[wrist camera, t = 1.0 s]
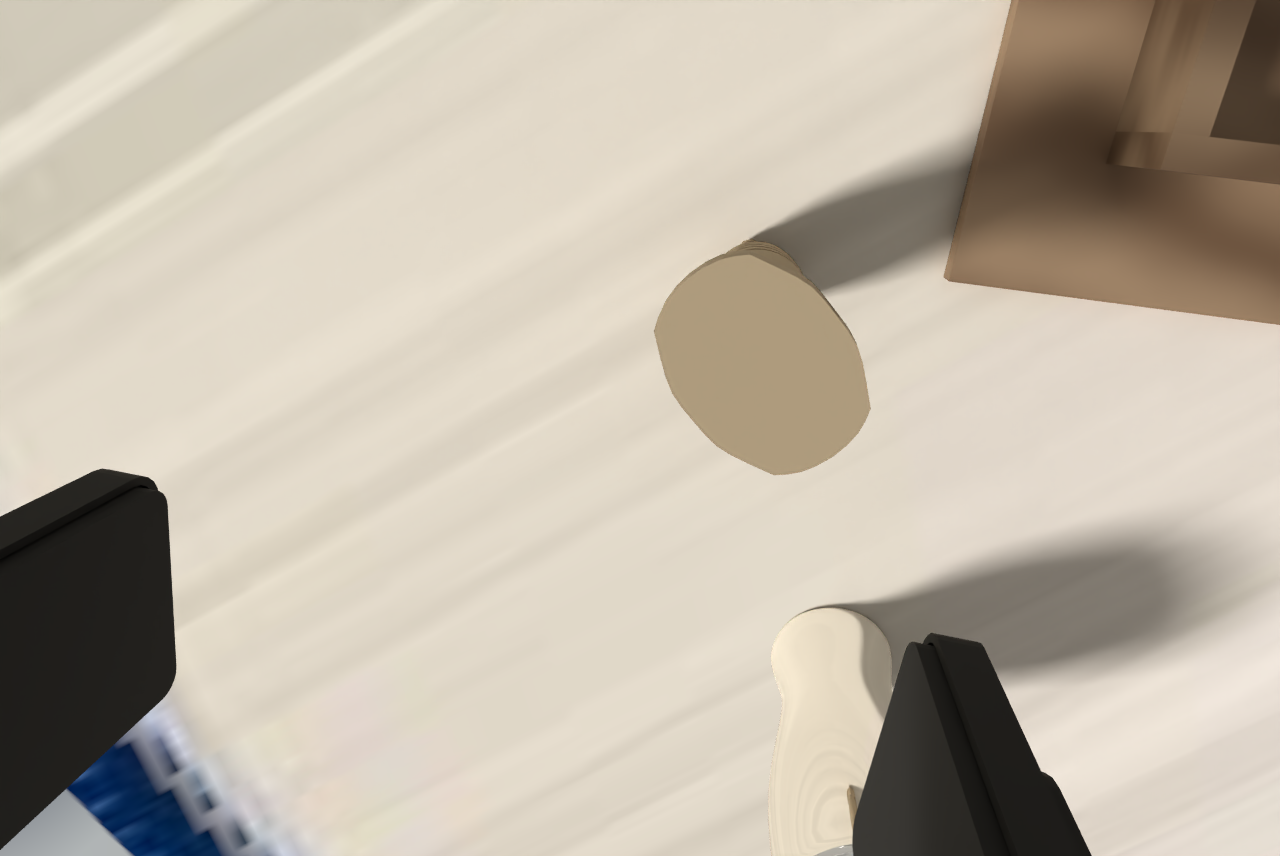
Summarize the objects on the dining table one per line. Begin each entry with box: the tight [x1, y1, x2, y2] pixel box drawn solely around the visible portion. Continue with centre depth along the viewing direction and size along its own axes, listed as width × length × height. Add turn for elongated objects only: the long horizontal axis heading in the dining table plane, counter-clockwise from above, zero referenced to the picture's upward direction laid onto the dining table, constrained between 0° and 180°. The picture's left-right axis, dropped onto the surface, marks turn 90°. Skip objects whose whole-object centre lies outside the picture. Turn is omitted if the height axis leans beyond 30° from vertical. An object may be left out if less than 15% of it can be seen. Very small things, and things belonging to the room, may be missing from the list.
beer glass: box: [768, 607, 893, 856], centre depth 36 cm, size 7×7×15 cm
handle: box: [654, 239, 871, 475], centre depth 29 cm, size 5×6×15 cm
